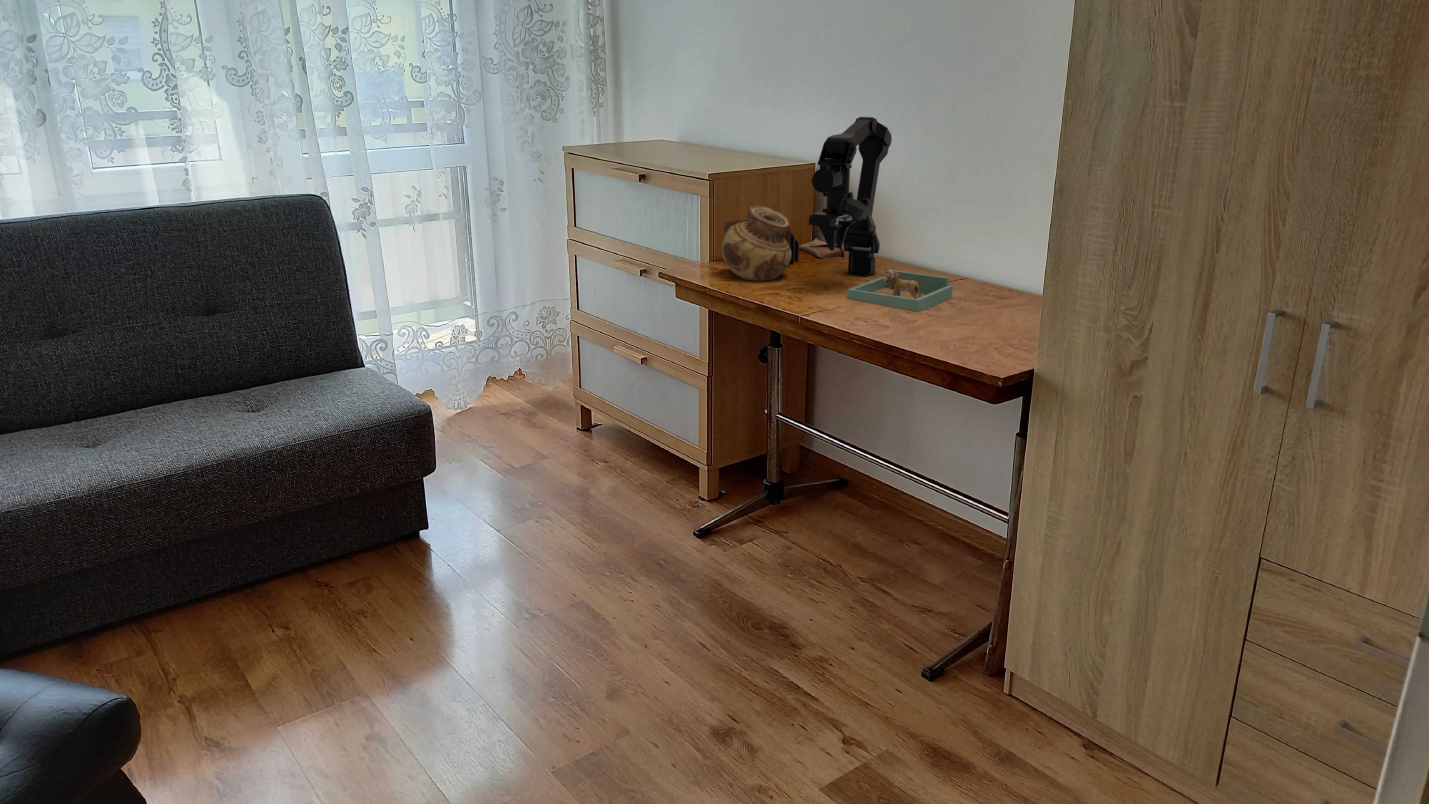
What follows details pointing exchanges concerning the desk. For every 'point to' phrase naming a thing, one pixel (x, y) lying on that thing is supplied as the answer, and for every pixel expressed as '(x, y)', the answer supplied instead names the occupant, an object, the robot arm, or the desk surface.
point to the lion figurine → (900, 284)
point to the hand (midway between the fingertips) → (835, 249)
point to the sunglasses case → (821, 249)
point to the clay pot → (758, 245)
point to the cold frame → (927, 284)
